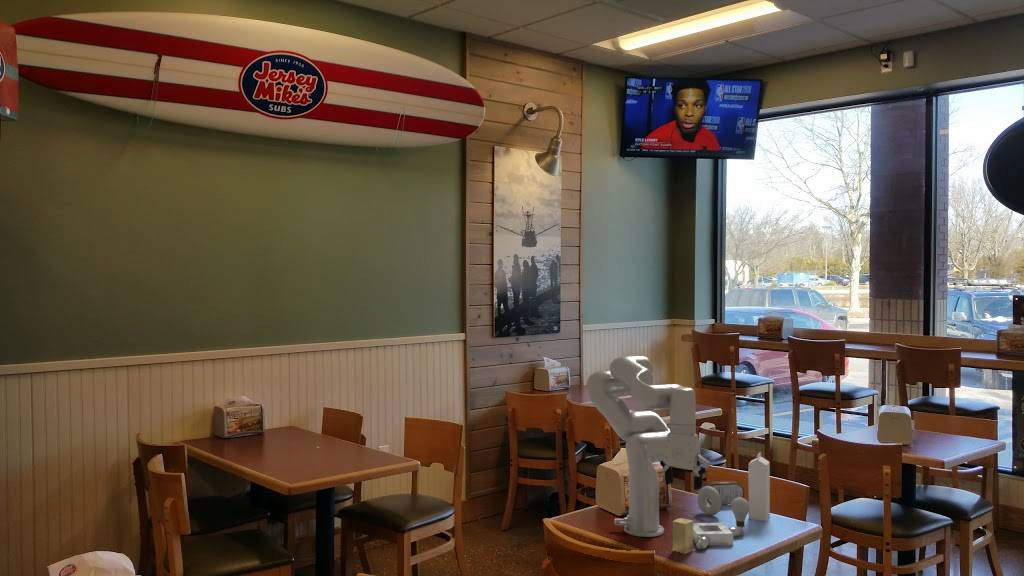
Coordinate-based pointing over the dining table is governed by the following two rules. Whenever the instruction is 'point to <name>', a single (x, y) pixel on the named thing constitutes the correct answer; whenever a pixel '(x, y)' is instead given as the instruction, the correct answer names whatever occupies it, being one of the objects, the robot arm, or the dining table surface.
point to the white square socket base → (713, 533)
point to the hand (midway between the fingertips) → (683, 486)
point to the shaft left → (703, 542)
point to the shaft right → (737, 531)
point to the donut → (714, 498)
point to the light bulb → (740, 510)
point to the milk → (759, 488)
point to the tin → (727, 491)
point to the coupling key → (683, 535)
